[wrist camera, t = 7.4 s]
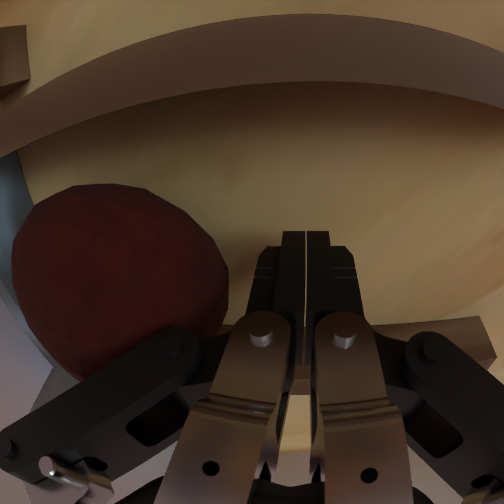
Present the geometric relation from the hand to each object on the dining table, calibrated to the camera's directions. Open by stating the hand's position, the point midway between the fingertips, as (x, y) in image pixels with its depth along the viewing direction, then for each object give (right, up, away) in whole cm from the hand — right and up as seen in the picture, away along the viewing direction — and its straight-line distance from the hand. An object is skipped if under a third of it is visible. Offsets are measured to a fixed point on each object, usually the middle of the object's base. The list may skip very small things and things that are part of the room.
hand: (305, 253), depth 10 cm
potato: (-6, +1, +2) cm, 7 cm away
